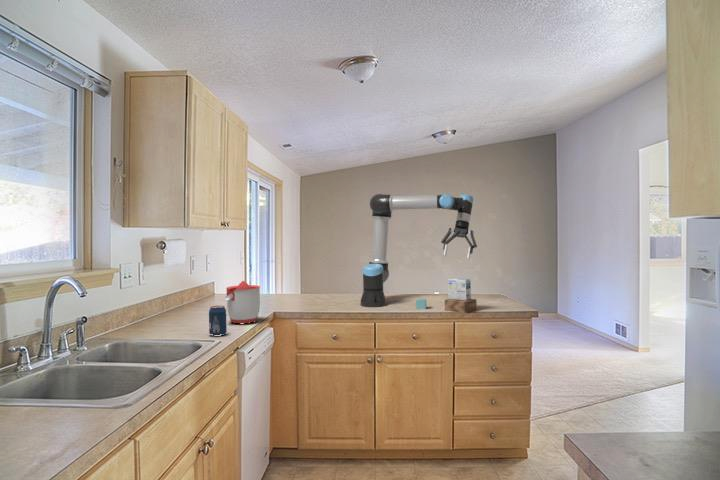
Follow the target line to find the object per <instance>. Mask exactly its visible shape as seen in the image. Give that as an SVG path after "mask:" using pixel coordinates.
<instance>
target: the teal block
mask: <svg viewBox="0 0 720 480" xmlns="http://www.w3.org/2000/svg"><path fill="white" fill-rule="evenodd" d="M415 304H416V305H415V307H416V308H415V309H416V310H426V309H427V298H417V299H416V300H415Z"/></svg>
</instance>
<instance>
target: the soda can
mask: <svg viewBox="0 0 720 480" xmlns="http://www.w3.org/2000/svg"><path fill="white" fill-rule="evenodd" d="M227 329H228V328H227V309H226V308H225V305H213V306H210V308H209V310H208V332H209V335H210V334H213V335H220V334H225V333H226V334H227ZM226 334H225V335H226Z"/></svg>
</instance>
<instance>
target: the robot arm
mask: <svg viewBox="0 0 720 480" xmlns="http://www.w3.org/2000/svg"><path fill="white" fill-rule="evenodd" d="M473 203H474V197H473V196H472V195H471V194H461V195H460V197H455V196H453V195H451V194H449V193H445V194H426V195H425V194H424V195H399V196H397V195H395V196H394V195H393V194H383V193H378V194H377V193H376V194H373V196H372V197H371V198H370V200H369V207H370V209H371V211H372V215H371V217H372V218H373V220H374V222H373V223H374V224H373V238H372V239H373V240H372V250H371V251H372V252H371V253H372V255H371V259H370V260H369V262H368V263H367V264H365V265H363V267H362V283H363V285H362V288H363V291H362V295H361V299H360V303H359V304H360V306H361V305H362V307H367V308H368V307H369V308H370V307H371V308H379V307H384V306H387V298H386V296H385V293H384V283H385V282H387V280H388V279H389V275H390V271H389V262H388V260H387V251H388V249H387V248H388V236H389V235H388V234H389V233H388V232H389V220H391V219H392V212H393V211H395V210H421V209H422V210H426V209H428V210H429V209H430V210H431V209H434V210H435V209H443V210H449V211H457V214H456V221H455V226H454V228H451V227H448V232H446V234H445V236H444V237H443V238H442V240H441V242H440V243H441V244H443V251H444V252H443V256H444V257H447V253H448V248H449V243H451V241H453V240H454V239H456V238H465V241H466V242H467V243H468V244H469V246H468V252H467V255H466V259H467V260H470V258H471V254H473V252H474V248H478V244H477V241H476V240H475V235H474V231H473V230H469V228H470V221H471V215H472V209H473ZM451 234H452V235H451ZM468 234H469V235H470V238H471V241H472V242H471V241H470V239H469V238H468V236H467V235H468ZM450 235H451V236H450Z"/></svg>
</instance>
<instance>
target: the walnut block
mask: <svg viewBox="0 0 720 480" xmlns="http://www.w3.org/2000/svg"><path fill="white" fill-rule="evenodd" d="M444 311H446V312H453V313H460V314H467V313H470V312H474V311H477V298H476V299H475V298H471V299H468V300H457V299H448V298H447V299H444Z"/></svg>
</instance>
